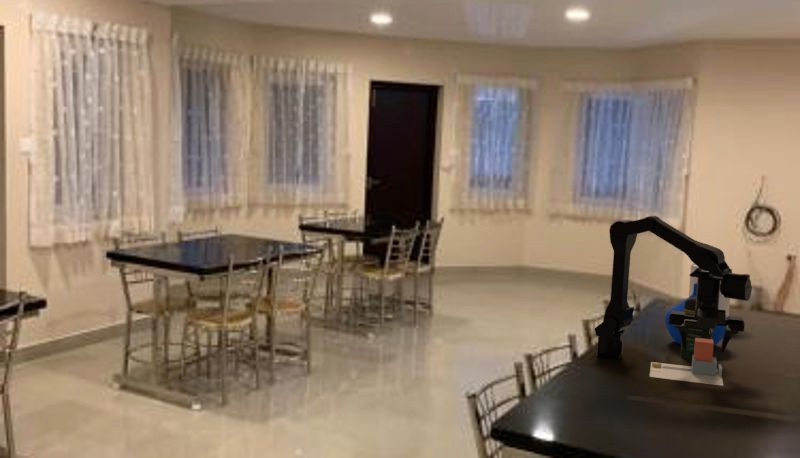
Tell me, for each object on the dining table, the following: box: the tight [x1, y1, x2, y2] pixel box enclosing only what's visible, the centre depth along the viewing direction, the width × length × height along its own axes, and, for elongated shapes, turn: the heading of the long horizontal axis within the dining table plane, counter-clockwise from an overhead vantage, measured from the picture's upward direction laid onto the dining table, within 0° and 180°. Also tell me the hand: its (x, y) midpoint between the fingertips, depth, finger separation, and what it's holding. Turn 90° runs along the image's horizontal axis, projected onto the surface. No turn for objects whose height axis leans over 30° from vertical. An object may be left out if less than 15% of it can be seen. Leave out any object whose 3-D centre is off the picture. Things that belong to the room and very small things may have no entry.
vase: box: [664, 283, 727, 346], centre depth 244 cm, size 18×18×19 cm
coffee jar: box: [679, 296, 713, 361], centre depth 227 cm, size 10×8×19 cm
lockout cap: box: [694, 338, 715, 362], centre depth 212 cm, size 4×4×5 cm
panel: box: [649, 361, 724, 387], centre depth 211 cm, size 18×15×3 cm
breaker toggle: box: [691, 355, 718, 376], centre depth 212 cm, size 6×6×4 cm
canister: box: [688, 262, 733, 317], centre depth 278 cm, size 14×14×20 cm
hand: (703, 352), depth 212 cm, fingers open, 9 cm apart
